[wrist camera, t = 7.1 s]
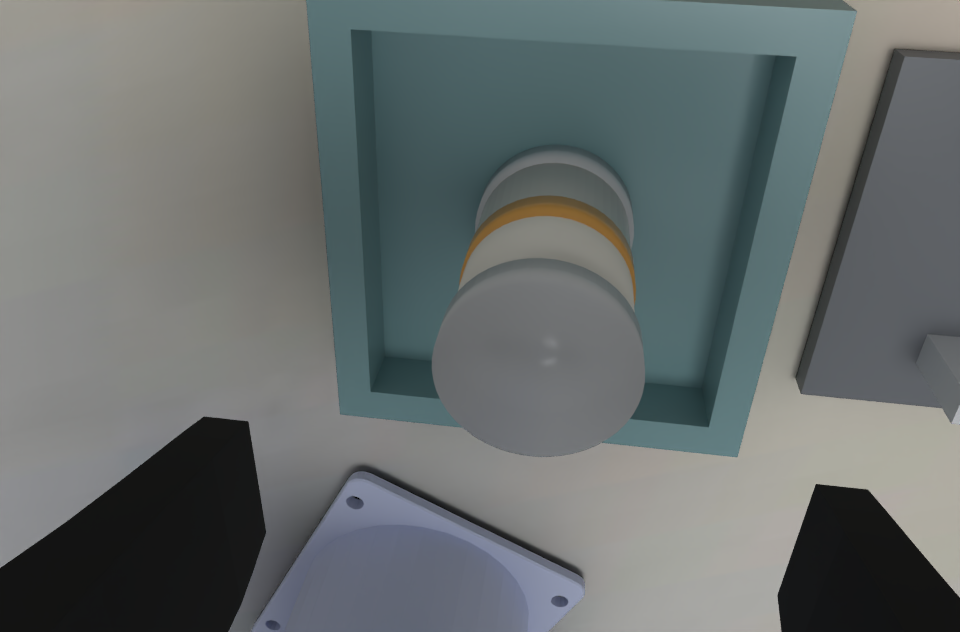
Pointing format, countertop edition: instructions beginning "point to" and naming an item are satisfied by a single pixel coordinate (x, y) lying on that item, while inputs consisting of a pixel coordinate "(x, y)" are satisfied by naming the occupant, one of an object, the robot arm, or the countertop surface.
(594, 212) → the marked fuse
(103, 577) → the robot arm
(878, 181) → the fuse board
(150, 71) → the countertop surface
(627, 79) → the tray
